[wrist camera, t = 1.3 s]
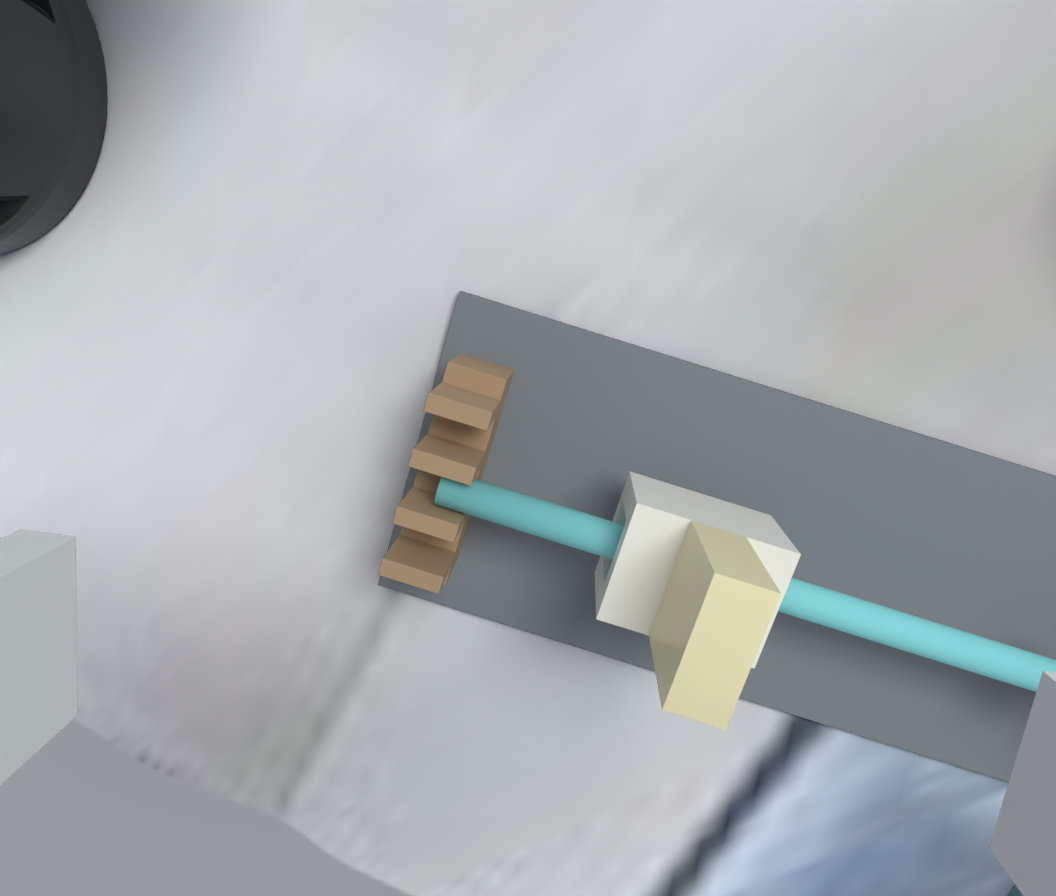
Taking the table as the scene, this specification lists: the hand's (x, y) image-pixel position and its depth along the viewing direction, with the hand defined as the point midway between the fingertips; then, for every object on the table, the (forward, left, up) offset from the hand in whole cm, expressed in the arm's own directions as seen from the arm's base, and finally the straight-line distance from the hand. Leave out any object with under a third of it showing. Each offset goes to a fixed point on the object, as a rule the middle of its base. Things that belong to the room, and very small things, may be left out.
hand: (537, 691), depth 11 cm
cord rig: (+12, -4, -25) cm, 28 cm away
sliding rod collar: (+6, -4, -21) cm, 23 cm away
